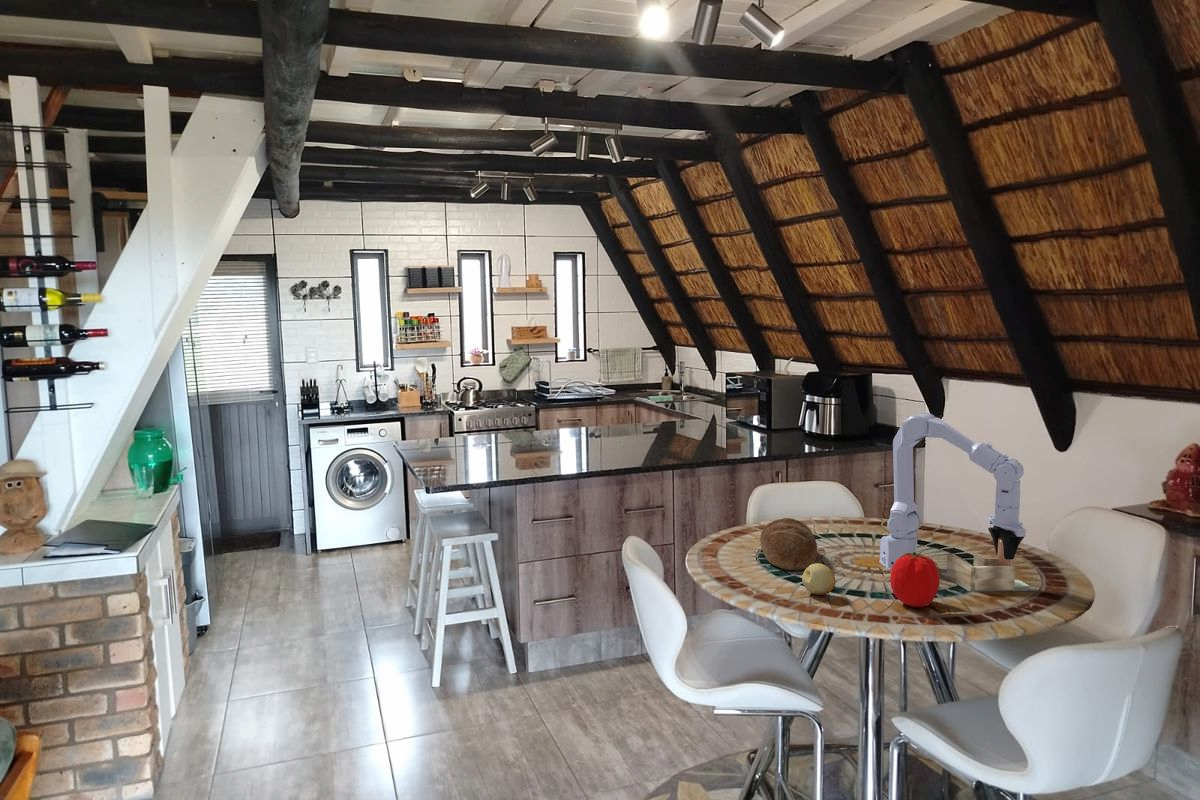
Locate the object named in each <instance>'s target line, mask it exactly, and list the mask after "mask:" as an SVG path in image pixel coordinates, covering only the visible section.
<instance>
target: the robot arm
mask: <svg viewBox="0 0 1200 800" xmlns="http://www.w3.org/2000/svg"><path fill="white" fill-rule="evenodd" d="M925 438H931V439H934V438H935V439H937V438H938V439H943V440H945V442H948V443H949V444H951V445H953V446H955V447H956V448H958V449H960V450H961V451H963V452H965V453H966V454H968V457H969V461H971V462H972V463H974V464H975V465H977V466H979V467H981V468H982V469H983V470H985V471H986V472H988V473H990V474H992V475H993V477H994V479H995V480H996V486H995V487H996V488H995V500H994V502H995V503H994V515H992V516H991V515H990V516H988V517H987V518H988V519H987V524H989V525H993V526H992V527H990V526H989V527H988V528H987V529H988V533H989V534H990V536H991V538H992V542H993V545H994V550H995V554H996V555H997V556H998V538H1002V541H1003V547H1004V558H1005V559H1006V560H1012V561H1013V560H1015V556H1016V554H1017V551H1018V548H1019V546H1020V544H1021V543H1022V541H1023V539H1024V538H1025V537H1027V535H1026V534H1027V529H1026V528H1024V527H1023V525H1024V524H1023V522H1021V521H1020V503H1021V502H1020V501H1021V479H1022V477H1023V475H1024V472H1025V470H1024V466H1023V464H1022V463H1021V462H1020V461H1019V460H1018V459H1016V458H1010V457H1009V455H1007V454H1002V453H1001V452H999V451H998V450H996V449H994V448H993V445H992V444H991V443H989V442H988V443H985V442H978V443H976V442H975V441H973V440H972V439H970V438H969V437H967V435H964V434H963V433H961V432H960V431H959V430H958V429H955V428H954V427H953V426H951V425H950V424H948V423H947V422H945V421H944V420H943V419H942V418H939V417H936V416H935V415H934V414H932V413H929V412H927V413H926V412H924V413H921V414H917V415H916V414H915V415H910V416H908V417H907V418H906V419H904V420H903V421H902V422H901V424H900V427H899V429H898V430H897V433H896V435H895V436H894V438H893V440H892V451H893V453H892V454H893V455H892V457H893V458H892V459H893V461H892V462H893V504H892V507H891V508H890V510H889V511H890V512H889V518H888V520H887V523H886V526H887V530H888V532H889V535H887V536H885V535H883V536H882V537H881V538H880V543H879V545H880V546H879V561H878V563H879V564H881V565H883V566H884V567H885V568H887V569H888V570H891V569H892V567H893V564H894V563H895V562H896V560H897V559H898V558H900V556H903V555H904V554H907V553H913V552H916V554H918V553H917V552H918V550H917V549H918V534H917V533H918V532H917V531H918V530H919V528H921V524H922V519H921V517H920V515H919V512H918V506H917V504H916V503H915V496H914V495H915V489H914V488H915V486H914V483H915V482H914V481H915V480H914V446H915V445H917V444H918V443H920V441H921V440H923V439H925Z"/></svg>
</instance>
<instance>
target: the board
mask: <svg viewBox="0 0 1200 800" xmlns="http://www.w3.org/2000/svg"><path fill="white" fill-rule="evenodd" d="M939 575H942V576H944V577H945V578H946V579H948V580H950V581H952V582H953V583H954V584H957V585H958V586H959V587H961V588H962V589H964V590H966V591H967V592H973V593H974V592H1017V591H1018V592H1019V591H1020V592H1021V591H1022V592H1023V591H1024V592H1025V591H1026V592H1027V591H1029V592H1031V591H1037V589H1035V588H1034V587H1031V586H1030V585H1029V587H1014V590H972V591H970V590H969V589H967V588H965V587H964V586H962V585H961V584H959V583H957V582H956V581H954V580H953V579H951V578H949V577H948V576H946V572H939ZM1015 580H1018V579H1017V578H1015Z"/></svg>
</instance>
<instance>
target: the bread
mask: <svg viewBox="0 0 1200 800" xmlns="http://www.w3.org/2000/svg"><path fill="white" fill-rule="evenodd" d="M759 539H760V540H759V541H760V543H759V544H760V548H761V550H762V553H763V554H764V557H765V559H766V560H767V561H768V563H769V564H771V565H773V566H774V567H778V568H780V569H782V570H786V571H802V570H806V568H808V567H809V566H810V565H811V564H815V563H816V560H817V557H818V544H817V541H816V537H815V535H814V533H813V532H812V529H811V528H810V527H809V526H808V525H807V524H805V523H804V522H803V521H800V520H798V519H795V518H792V517H791V518H790V517H785V518H779V519H775V520H773V521H771V522H769V523H767V524H766V526H765V527H764V528H763V529H762V531H761V534H760V538H759Z"/></svg>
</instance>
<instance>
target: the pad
mask: <svg viewBox="0 0 1200 800" xmlns="http://www.w3.org/2000/svg"><path fill="white" fill-rule="evenodd" d="M1029 586H1030V585H1029V584H1027V583H1025V582H1024V581H1022V580H1020V579H1017V580H1015V582H1014V587H1029Z"/></svg>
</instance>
